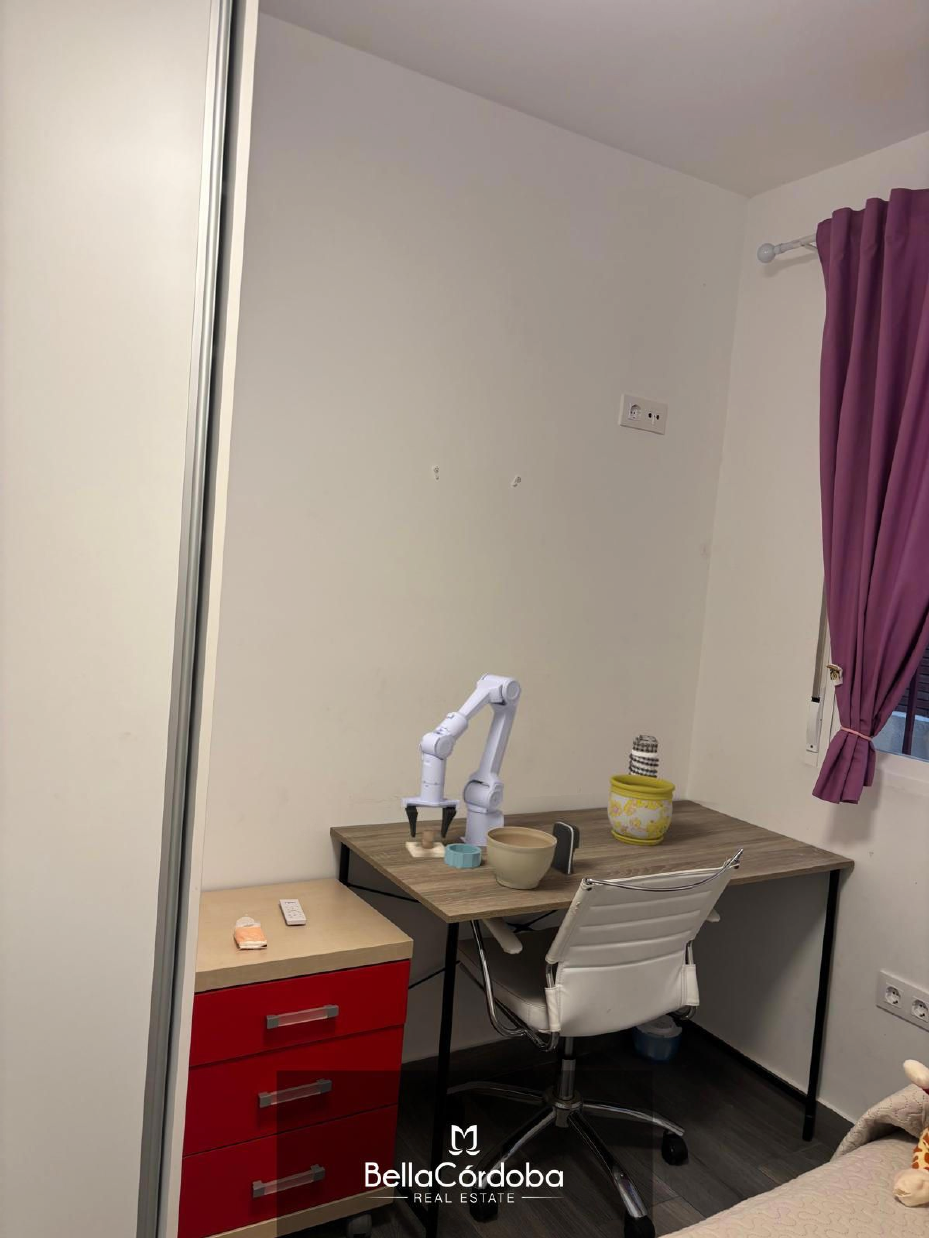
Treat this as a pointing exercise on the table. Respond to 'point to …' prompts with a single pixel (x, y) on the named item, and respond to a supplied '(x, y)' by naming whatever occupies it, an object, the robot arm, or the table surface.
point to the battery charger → (565, 846)
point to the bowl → (462, 856)
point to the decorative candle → (644, 756)
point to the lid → (426, 846)
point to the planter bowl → (519, 855)
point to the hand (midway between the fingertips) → (428, 836)
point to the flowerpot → (640, 808)
